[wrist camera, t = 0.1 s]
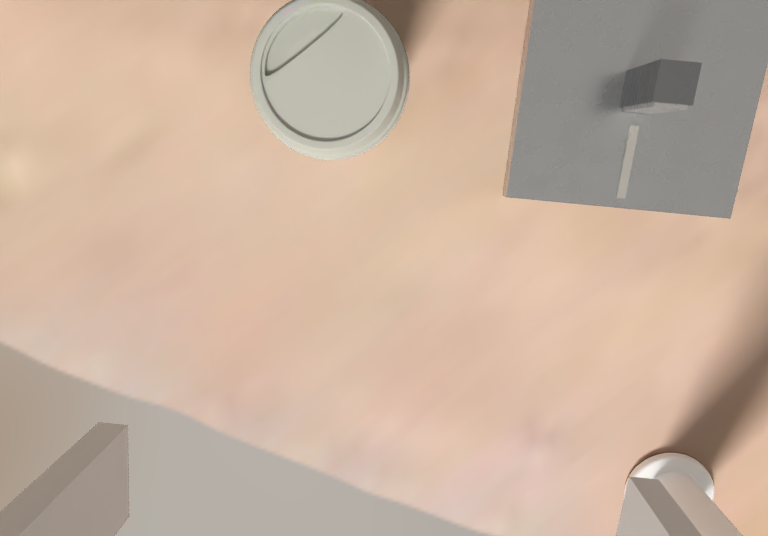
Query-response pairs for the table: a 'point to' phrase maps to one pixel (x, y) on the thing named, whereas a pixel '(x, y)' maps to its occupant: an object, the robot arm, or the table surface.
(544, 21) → the grey square plate
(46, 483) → the robot arm
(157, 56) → the table surface
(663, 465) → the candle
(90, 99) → the table surface
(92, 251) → the table surface
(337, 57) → the coffee cup
